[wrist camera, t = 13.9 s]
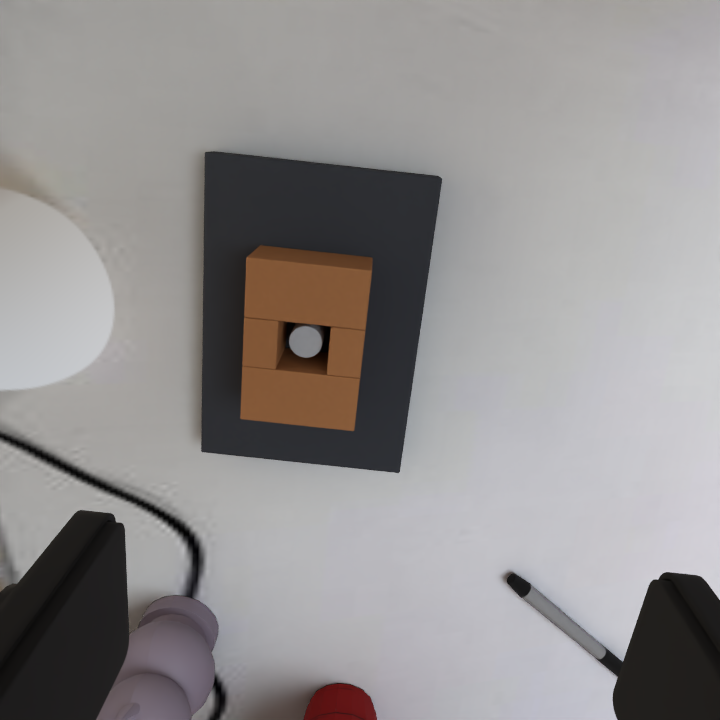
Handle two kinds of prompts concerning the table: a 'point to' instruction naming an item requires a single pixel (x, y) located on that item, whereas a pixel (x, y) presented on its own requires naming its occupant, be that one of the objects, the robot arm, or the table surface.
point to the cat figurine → (166, 664)
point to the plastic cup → (340, 704)
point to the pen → (564, 623)
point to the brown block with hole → (308, 306)
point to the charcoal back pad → (322, 229)
